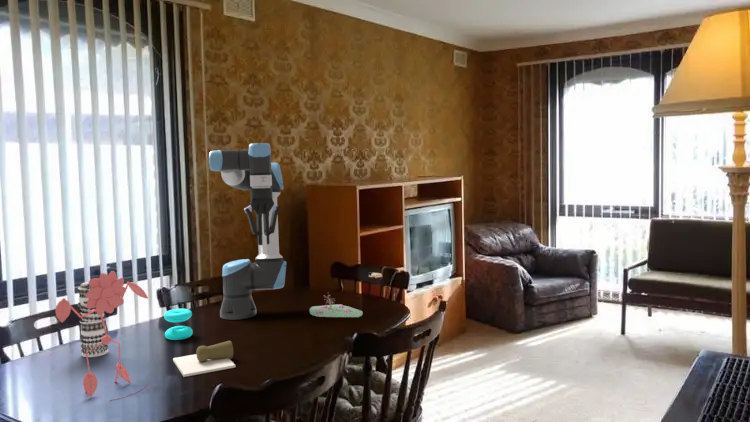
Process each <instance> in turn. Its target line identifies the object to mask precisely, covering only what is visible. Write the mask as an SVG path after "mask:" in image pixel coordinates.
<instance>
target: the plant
mask: <svg viewBox="0 0 750 422" xmlns="http://www.w3.org/2000/svg"><path fill="white" fill-rule="evenodd" d="M327 294H328V295H327V296H326V295H325V294H324V295H322V296H323V297H324V299H323V300H324V301H325V300H326V301H325V305H315V306H311V307H310V308H309V314H310V315H312V316H313V317H314V316H315V317H319V318H321V317H322V318H324V317H325V318H360V317H362V316H363V313H364V312H363V311H362V310H360V309H357V308H354V307H351V306H349V305H348V306H347V305H343V303H342V304H339V303H338V304H335V302H336V299H332V298H331V294H329V291H328V292H327Z"/></svg>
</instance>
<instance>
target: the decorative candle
mask: <svg viewBox="0 0 750 422" xmlns="http://www.w3.org/2000/svg"><path fill="white" fill-rule="evenodd" d="M77 289H78V295H79V296H78V301H79V302H77V305H76V306H77V307H78V308H77V312H78V313H79V314H80V315H81V316H83V315H85V314H87V313H89V312H91V311H93V310H95V309H96V307H93V308H91V309H88V308H87V301H88V299H89V298H86V294H87V293H88V291H89V290H91V289H92V288H91V286H90V285H89V281H84V282H82V283H81V284H80V285H79V287H77ZM106 313H107V312H106V311H104V313H103V314H102V315H103V320H104V323H105V324H106V320H107V316H106ZM78 321H79V323H80V324H81V325H80V327H81V330H80V334H81V335H80V336H79V337H80V338H81V339H80V342H81V343H82V344H81V345H80V348H81V350H80V351H81V356H82V357H84V358H86V352H87V351H89V350H90V349H92V348H94V347H95V346H97V345H99V344H100V343H102V342H101V339H102V337H103V336H105V335H106V334H105V330H104V327H103V324H102V320H101V315H98V314H97V312H96V311H95V312H93V313H91V314H89V315H87V316H85V317H83V318H81V317H79V319H78ZM108 353H109V345H108V344H107V345H105V344H101V345H99V346H98V347H96V348H94V349H93V350H91V351H89V352H88V353H87V355H88V358H97V357H100V356H103V355H106V354H108Z"/></svg>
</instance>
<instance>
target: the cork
mask: <svg viewBox="0 0 750 422" xmlns="http://www.w3.org/2000/svg"><path fill="white" fill-rule="evenodd" d="M195 354H196V355H197V359H198V361H200V362H205V361H207V360H208V359H226V358H229V359H230V360H231V359H233V357H234V346H233V343H232V341H231V340H227V341H223V342H219V343H216V344H212V345H208V346H206V345H200V346H198V347H197V348H196V352H195Z"/></svg>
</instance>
